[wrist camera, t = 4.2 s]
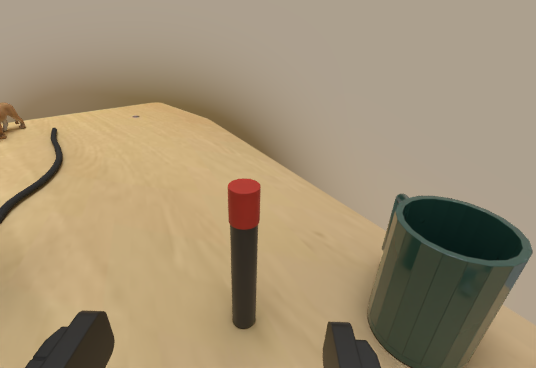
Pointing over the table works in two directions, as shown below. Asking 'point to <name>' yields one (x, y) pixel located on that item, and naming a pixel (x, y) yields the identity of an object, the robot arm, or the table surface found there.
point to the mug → (442, 279)
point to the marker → (244, 248)
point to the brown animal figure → (3, 110)
